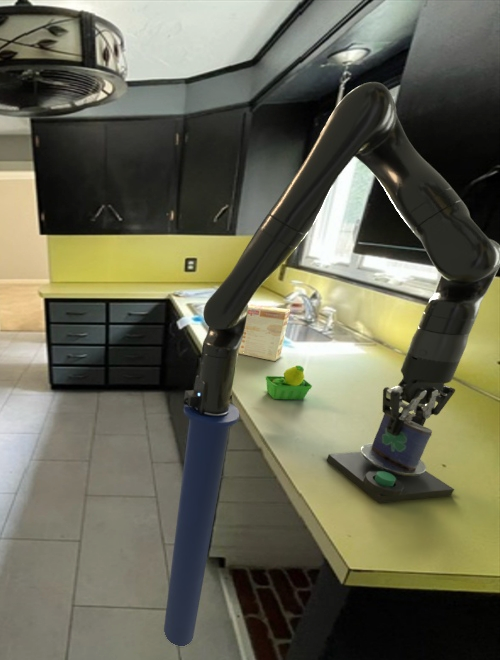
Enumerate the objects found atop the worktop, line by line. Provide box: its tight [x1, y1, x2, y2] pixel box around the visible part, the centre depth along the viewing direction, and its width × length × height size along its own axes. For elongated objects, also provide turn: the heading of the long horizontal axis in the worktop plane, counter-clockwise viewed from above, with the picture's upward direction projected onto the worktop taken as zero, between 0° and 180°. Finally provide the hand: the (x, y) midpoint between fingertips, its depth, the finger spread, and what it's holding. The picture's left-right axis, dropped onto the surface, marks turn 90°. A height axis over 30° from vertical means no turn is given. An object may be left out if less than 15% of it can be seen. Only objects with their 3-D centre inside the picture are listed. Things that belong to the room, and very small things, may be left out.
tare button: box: [374, 471, 396, 487], centre depth 70 cm, size 3×3×2 cm
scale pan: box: [360, 442, 427, 476], centre depth 77 cm, size 11×11×1 cm
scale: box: [326, 451, 455, 504], centre depth 76 cm, size 16×14×3 cm
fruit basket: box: [265, 365, 313, 401], centre depth 110 cm, size 11×9×11 cm
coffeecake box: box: [238, 304, 291, 362], centre depth 144 cm, size 15×7×20 cm, turn 49°
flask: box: [371, 412, 433, 470], centre depth 75 cm, size 9×3×11 cm, turn 12°
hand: (402, 432), depth 74 cm, fingers open, 4 cm apart
